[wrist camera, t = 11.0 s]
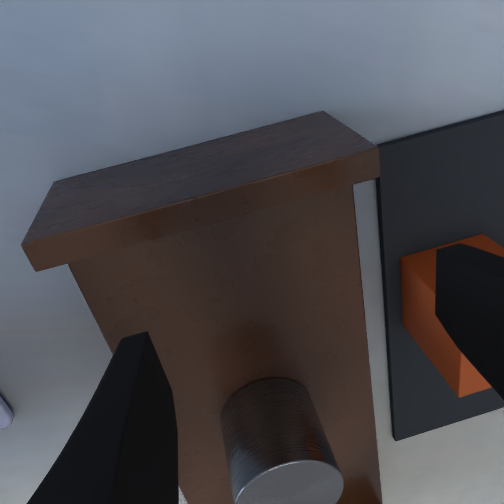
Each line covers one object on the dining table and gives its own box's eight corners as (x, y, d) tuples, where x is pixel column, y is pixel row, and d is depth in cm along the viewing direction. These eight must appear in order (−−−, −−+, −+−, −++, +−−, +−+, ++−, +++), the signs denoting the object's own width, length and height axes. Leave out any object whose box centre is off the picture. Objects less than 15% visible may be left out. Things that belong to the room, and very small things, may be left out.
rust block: (401, 324, 24) (458, 398, 20) (399, 257, 22) (462, 322, 18) (478, 302, 24) (550, 369, 20) (483, 232, 22) (566, 291, 18)
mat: (392, 436, 30) (395, 441, 29) (373, 145, 19) (377, 148, 19) (532, 392, 30) (537, 396, 30) (587, 87, 20) (595, 89, 20)
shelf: (215, 529, 31) (226, 619, 26) (53, 181, 17) (19, 244, 13) (367, 480, 32) (403, 560, 27) (323, 110, 18) (380, 147, 14)
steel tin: (231, 454, 23) (248, 544, 19) (209, 394, 21) (222, 483, 17) (316, 427, 24) (348, 511, 20) (304, 365, 21) (338, 447, 17)
